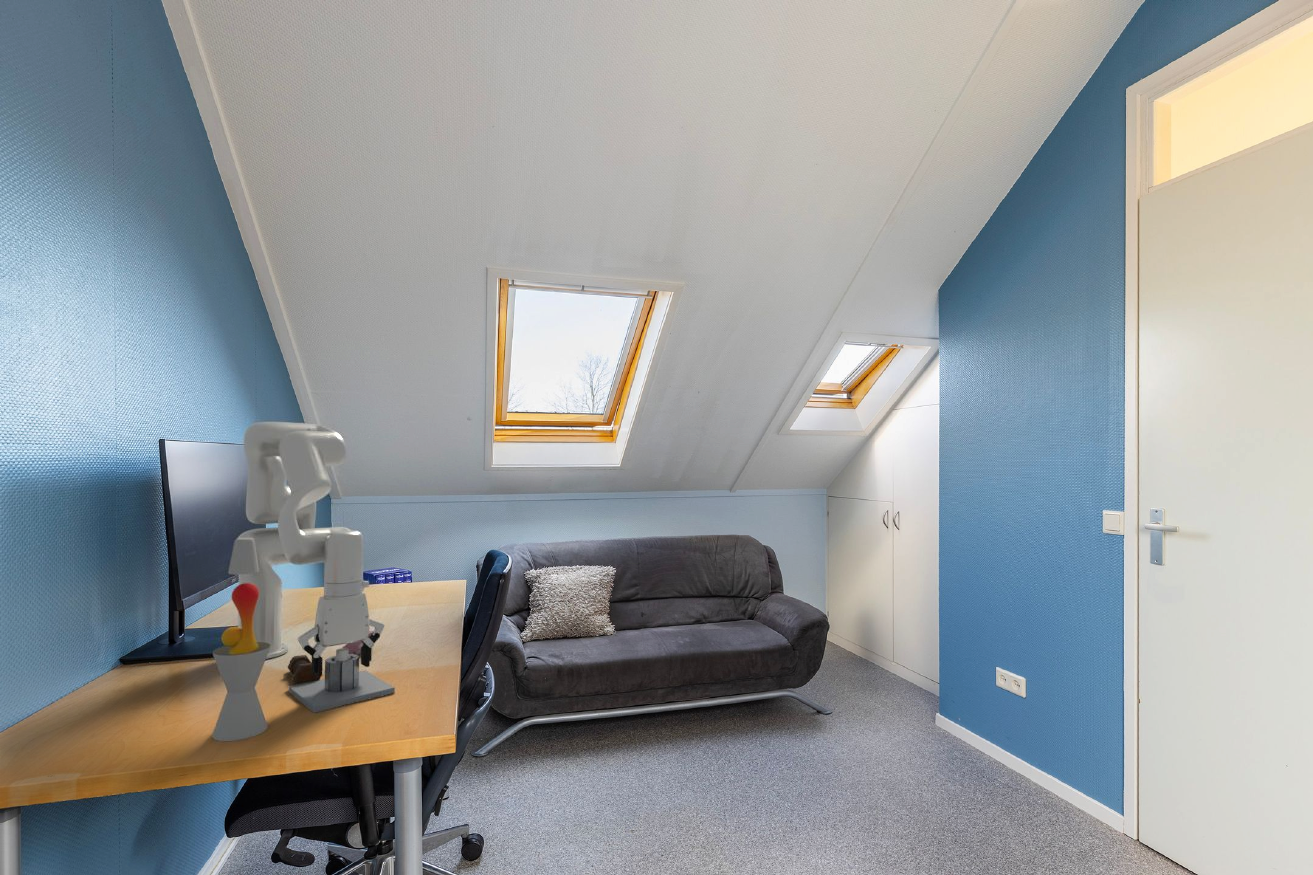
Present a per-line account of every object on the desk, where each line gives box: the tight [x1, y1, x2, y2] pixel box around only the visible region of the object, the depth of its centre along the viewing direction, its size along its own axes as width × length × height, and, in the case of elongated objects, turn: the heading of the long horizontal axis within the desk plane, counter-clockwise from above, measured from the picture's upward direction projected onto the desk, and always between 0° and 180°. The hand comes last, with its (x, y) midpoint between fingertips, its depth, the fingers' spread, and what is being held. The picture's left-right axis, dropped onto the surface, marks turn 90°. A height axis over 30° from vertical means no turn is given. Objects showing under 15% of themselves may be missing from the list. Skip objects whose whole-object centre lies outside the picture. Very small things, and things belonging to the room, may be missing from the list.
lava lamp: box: [211, 537, 270, 742], centre depth 124 cm, size 9×9×35 cm
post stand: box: [288, 647, 396, 714], centre depth 144 cm, size 16×16×9 cm
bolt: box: [287, 654, 322, 685], centre depth 153 cm, size 6×5×15 cm
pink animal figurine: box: [340, 629, 374, 656], centre depth 172 cm, size 10×5×7 cm, turn 173°
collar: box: [324, 654, 360, 692], centre depth 144 cm, size 6×6×6 cm
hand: (342, 670), depth 144 cm, fingers open, 9 cm apart
